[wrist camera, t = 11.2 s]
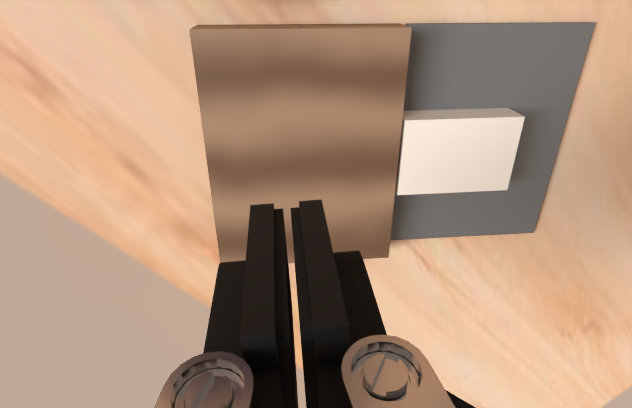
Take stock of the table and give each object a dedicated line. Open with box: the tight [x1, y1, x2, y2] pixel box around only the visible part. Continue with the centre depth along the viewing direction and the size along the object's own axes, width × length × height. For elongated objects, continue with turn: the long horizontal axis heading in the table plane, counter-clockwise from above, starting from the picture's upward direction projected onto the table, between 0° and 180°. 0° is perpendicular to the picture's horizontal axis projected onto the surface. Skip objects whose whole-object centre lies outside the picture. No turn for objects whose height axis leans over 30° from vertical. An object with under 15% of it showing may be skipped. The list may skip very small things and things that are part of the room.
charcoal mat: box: [390, 22, 595, 240], centre depth 34 cm, size 18×14×1 cm
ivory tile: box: [395, 108, 525, 195], centre depth 32 cm, size 6×9×2 cm, turn 90°
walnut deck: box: [190, 24, 412, 263], centre depth 32 cm, size 18×14×3 cm
